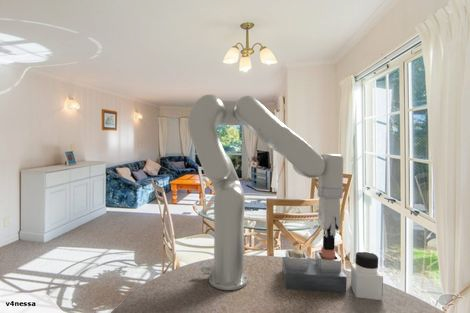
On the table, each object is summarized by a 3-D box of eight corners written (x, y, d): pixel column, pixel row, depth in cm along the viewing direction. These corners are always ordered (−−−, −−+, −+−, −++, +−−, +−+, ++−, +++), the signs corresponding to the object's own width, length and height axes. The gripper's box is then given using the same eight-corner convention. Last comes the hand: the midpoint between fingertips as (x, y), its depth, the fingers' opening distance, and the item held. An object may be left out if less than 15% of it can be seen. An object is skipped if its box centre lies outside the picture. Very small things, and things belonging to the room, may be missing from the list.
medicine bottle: (382, 301, 75) (384, 259, 75) (355, 297, 77) (357, 257, 76) (374, 287, 82) (375, 250, 82) (350, 285, 84) (351, 248, 83)
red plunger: (322, 263, 83) (323, 251, 83) (319, 257, 87) (320, 246, 87) (336, 264, 83) (336, 251, 83) (332, 258, 87) (333, 246, 87)
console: (285, 289, 81) (285, 261, 80) (282, 270, 93) (282, 246, 92) (346, 293, 79) (346, 264, 79) (335, 273, 91) (335, 249, 91)
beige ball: (290, 266, 84) (290, 254, 84) (289, 261, 88) (289, 249, 88) (304, 267, 84) (304, 255, 84) (301, 261, 88) (302, 249, 88)
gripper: (313, 188, 92) (312, 240, 93) (323, 196, 77) (321, 257, 78) (335, 188, 91) (334, 241, 92) (349, 197, 76) (348, 259, 77)
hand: (328, 248), depth 85 cm, fingers closed
